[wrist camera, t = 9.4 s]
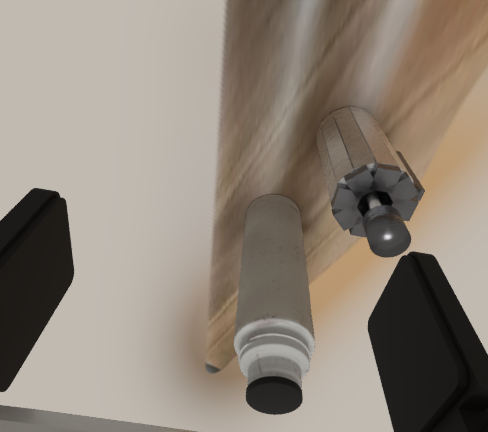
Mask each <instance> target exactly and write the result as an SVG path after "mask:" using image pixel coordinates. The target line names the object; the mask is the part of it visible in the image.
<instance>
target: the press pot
mask: <svg viewBox="0 0 488 432" xmlns="http://www.w3.org/2000/svg"><path fill="white" fill-rule="evenodd" d="M316 143H317V147H318V151H319V155H320V159H321V164H322V168H323V172H324V176H325V180H326V184H327V189H328V193H329V197H330V201H331V205H332V208H333V209H332V213H333V216H334V217H335V219H336V220H337V222H338V223H339V224H340V226H341V227H342V229H343V230H347V229H349V231H350V234H351V235H355V236H361V237H366V234H365V231H364V228H363V224H362V221H363V217H364V215H365V214H366V213H367V212H368V211H369V210H370V207H369V204H368V202H367V199H366V196H365V195H366V194H368V193H370V192H372V191H373V190H375V192H376V194H377V197H378V199H379V201H380V203H381V205H389V206H392V207H394V208H396V209H397V210H398V211H399V213H400V215H401V217H402V219H403V220H405V221H409V220H410V218H411V216H412V215H413V212H414V210H415V208H416V207H417V205H418V201H420V200H421V198H422V196H423V193H424V192H425V190H424V188H423V187H422V185H421V184H420V182H419V181H418V179H417V178H416V176H415V174H414V173H413V171H412V170H411V168H410V167H409V165H408V164H407V162H406V160H405V159H404V157H403V156H402V154H401V153H400V152H398V151H395V150H394V149H393V147H392V145H391V144H390V142H389V141H388V139H387V137H386V136H385V134H384V132H383V131H382V129H381V128H380V126H379V124H378V123H377V121H376V120H375V119H374V118H373V117H372V116H371V115H370V114H369V113H368V112H367V111H366V110H364V109H361V108H356V107H350V106H349V107H348V106H347V107H344V108H341V109H338V110H335V111H332V112H331V113H330V114H329V115H328V116H327V117H326V118H325V119H324V120H323V121H322V122H321V123H320V125H319V128H318V132H317V135H316Z"/></svg>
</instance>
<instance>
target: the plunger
mask: <svg viewBox="0 0 488 432" xmlns="http://www.w3.org/2000/svg"><path fill="white" fill-rule="evenodd" d="M365 196H366V199H367V202H368V204H369V207H370V210H369V211H368V212H367V213H366V214H365V215H364V217H363V221H362V224H363V228H364V231H365V234H366V237H367V239H368V242H369V246H370V249H371V250H372V252H373V253H374V254H376V255H378V256H381V257H394V256H397V255H399V254H401V253H403V252H404V251H405V250H406V249H407V248H408V247H409V245H410V243H411V236H410V233H409V231H408V229H407V227H406V225H405V223H404V221H403V219H402V217H401V215H400V213H399V211H398V210H397V209H396V208H394V207H392V206H389V205H381V203H380V201H379V199H378V197H377V194H376V192H375V190H373V191H372V192H370V193H368V194H366V195H365Z"/></svg>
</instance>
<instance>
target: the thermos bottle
mask: <svg viewBox="0 0 488 432" xmlns="http://www.w3.org/2000/svg"><path fill="white" fill-rule="evenodd" d="M234 347H235V351H236V352H237V354H238V361H239V365H240V369H241V371H242V373H243V374H244V375H245V376H246V377H247V378H248V387H247V389H246V401H247V403H248V404H249V405H250V406H251V407H252V408H253V409H255V410H257V411H259V412H262V413H266V414H274V415H275V414H285V413H289V412H292V411H294V410H296V409H297V408H298V407H299V406H300V405H301V403H302V390H301V387H302V379H303V378H304V377H305V376H306V375H307V373H308V372H309V368H310V360H311V356H312V354H313V352H314V349H315V337H314V329H313V322H312V315H311V305H310V294H309V285H308V276H307V267H306V258H305V250H304V241H303V232H302V223H301V214H300V211H299V208H298V207H297V205H296V204H295V203H294V202H293V201H292V200H290V199H289V198H287V197H285V196H281V195H274V194H272V195H265V196H262V197H260V198H258V199H256V200H255V201H253V202H252V203H251V204H250V206H249V207H248V209H247V212H246V219H245V229H244V240H243V251H242V261H241V272H240V283H239V293H238V304H237V315H236V325H235V336H234Z"/></svg>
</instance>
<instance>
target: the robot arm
mask: <svg viewBox="0 0 488 432" xmlns="http://www.w3.org/2000/svg"><path fill="white" fill-rule="evenodd" d="M73 277H74V266H73V257H72V248H71V239H70V231H69V222H68V214H67V205H66V200H65V199H64V198H60V195H59V193H58V192H56V191H51V190H45V189H39V188H34V189H32V190H31V191H30V192H29V193H28V194H27V195H26V196H25V197H24V198H23V199H22V200H21V201H20V202H19V203H18V204H17V205H16V206H15V207H14V208H13V209H12V210H11V211H10V212H9V213H8V214H7V215H6V216H5V217H4V218H3V219H2V220H1V221H0V392H4V391H6V390H7V389H8V388H9V386H10V385H11V383H12V381H13V380H14V378H15V376H16V375H17V373H18V371H19V370H20V368H21V366H22V365H23V363H24V361H25V360H26V358H27V356H28V355H29V353H30V351H31V350H32V348H33V346H34V345H35V343H36V341H37V340H38V338H39V336H40V335H41V333H42V331H43V330H44V328H45V326H46V325H47V323H48V321H49V320H50V318H51V316H52V315H53V313H54V311H55V309H56V308H57V306H58V305H59V303H60V301H61V300H62V298H63V296H64V294H65V293H66V291H67V290H68V288H69V286H70V285H71V283H72V280H73ZM368 332H369V336H370V340H371V344H372V348H373V352H374V356H375V360H376V364H377V367H378V371H379V375H380V379H381V383H382V387H383V391H384V395H385V399H386V402H387V406H388V410H389V414H390V418H391V422H392V426H393V429H394V432H488V354H487V353H486V351H485V349H484V347H483V345H482V343H481V341H480V340H479V338H478V336H477V334H476V332H475V331H474V328H473V327H472V325H471V323H470V321H469V319H468V317H467V315H466V314H465V312H464V310H463V308H462V306H461V305H460V302H459V301H458V299H457V297H456V295H455V294H454V291H453V289H452V288H451V286H450V284H449V282H448V280H447V278H446V276H445V275H444V273H443V271H442V269H441V267H440V265H439V263H438V261H437V260H436V258H435V257H434V256H433V255H431V254H425V253H419V252H410V253H409V254H408V255H407V256H406V255H404V256H402V257H401V258H400V260H399V262H398V264H397V266H396V268H395V270H394V272H393V274H392V275H391V277H390V279H389V281H388V283H387V285H386V287H385V289H384V291H383V293H382V295H381V297H380V298H379V300H378V302H377V304H376V306H375V308H374V310H373V312H372V314H371V316H370V318H369V320H368ZM0 432H196V431H189V430H182V429H174V428H167V427H160V426H153V425H146V424H138V423H132V422H124V421H117V420H110V419H103V418H95V417H88V416H81V415H72V414H66V413H59V412H51V411H44V410H36V409H27V408H19V407H10V406H2V405H0Z"/></svg>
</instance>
